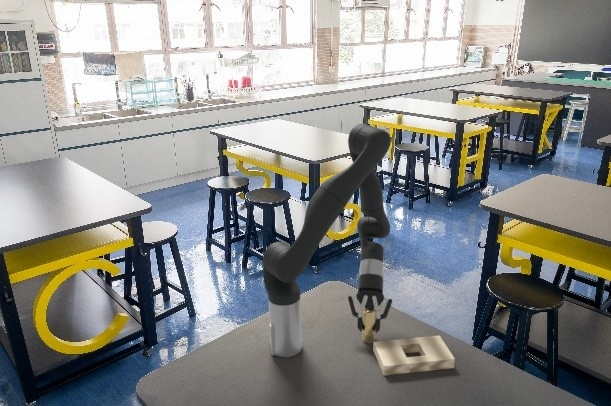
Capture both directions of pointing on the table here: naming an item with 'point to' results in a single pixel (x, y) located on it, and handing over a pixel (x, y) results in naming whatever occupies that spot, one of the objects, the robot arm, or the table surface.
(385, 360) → the jig
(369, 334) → the bushing
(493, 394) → the table surface
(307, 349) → the table surface
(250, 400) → the table surface
